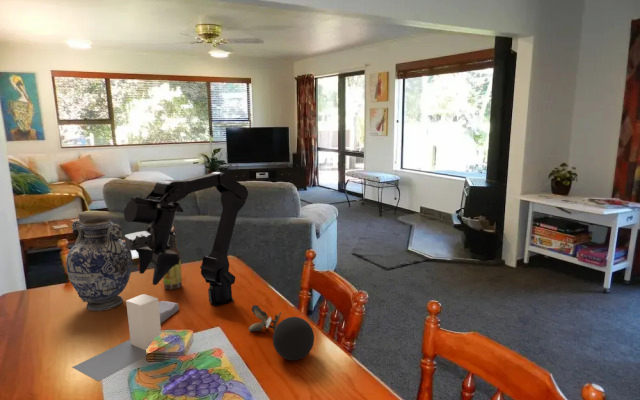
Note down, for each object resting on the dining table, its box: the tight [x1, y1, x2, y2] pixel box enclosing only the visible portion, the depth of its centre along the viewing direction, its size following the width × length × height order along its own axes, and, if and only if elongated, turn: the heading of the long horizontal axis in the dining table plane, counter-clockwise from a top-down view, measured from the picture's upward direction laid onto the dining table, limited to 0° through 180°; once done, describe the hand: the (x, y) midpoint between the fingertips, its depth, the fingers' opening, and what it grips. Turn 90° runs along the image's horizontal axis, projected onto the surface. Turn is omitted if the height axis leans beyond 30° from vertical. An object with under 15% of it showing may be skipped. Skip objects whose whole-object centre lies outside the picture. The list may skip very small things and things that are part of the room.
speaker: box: [272, 316, 315, 361], centre depth 100 cm, size 10×10×10 cm
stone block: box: [158, 300, 180, 325], centre depth 123 cm, size 12×5×10 cm
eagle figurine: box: [248, 304, 282, 332], centre depth 114 cm, size 8×7×9 cm
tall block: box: [125, 293, 162, 350], centre depth 107 cm, size 5×6×12 cm
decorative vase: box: [65, 217, 133, 312], centre depth 132 cm, size 21×19×28 cm
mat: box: [72, 339, 147, 382], centre depth 103 cm, size 22×11×1 cm, turn 148°
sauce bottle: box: [162, 232, 183, 291], centre depth 146 cm, size 6×6×20 cm
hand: (147, 278), depth 115 cm, fingers open, 9 cm apart
